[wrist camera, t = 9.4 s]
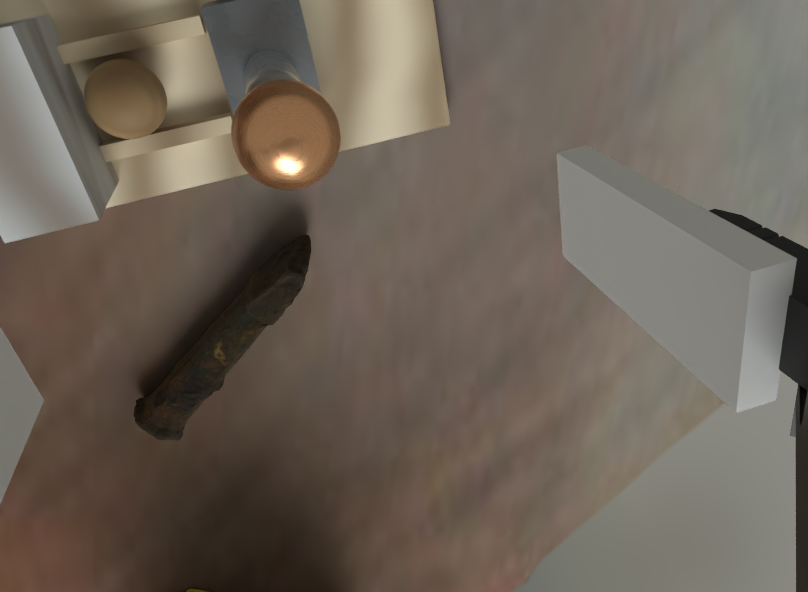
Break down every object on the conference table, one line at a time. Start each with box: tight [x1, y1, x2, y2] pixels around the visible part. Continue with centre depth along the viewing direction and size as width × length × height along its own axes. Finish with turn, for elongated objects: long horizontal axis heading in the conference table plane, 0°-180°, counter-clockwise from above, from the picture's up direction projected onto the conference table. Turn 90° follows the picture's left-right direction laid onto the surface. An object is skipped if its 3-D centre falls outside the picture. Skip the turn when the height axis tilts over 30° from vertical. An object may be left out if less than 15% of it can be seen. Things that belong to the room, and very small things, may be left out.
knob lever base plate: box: [0, 0, 450, 243], centre depth 37 cm, size 28×13×8 cm, turn 100°
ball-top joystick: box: [201, 0, 341, 190], centre depth 31 cm, size 5×12×20 cm, turn 10°
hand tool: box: [134, 235, 311, 440], centre depth 48 cm, size 19×4×5 cm, turn 134°
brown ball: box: [84, 59, 167, 139], centre depth 37 cm, size 4×4×4 cm
